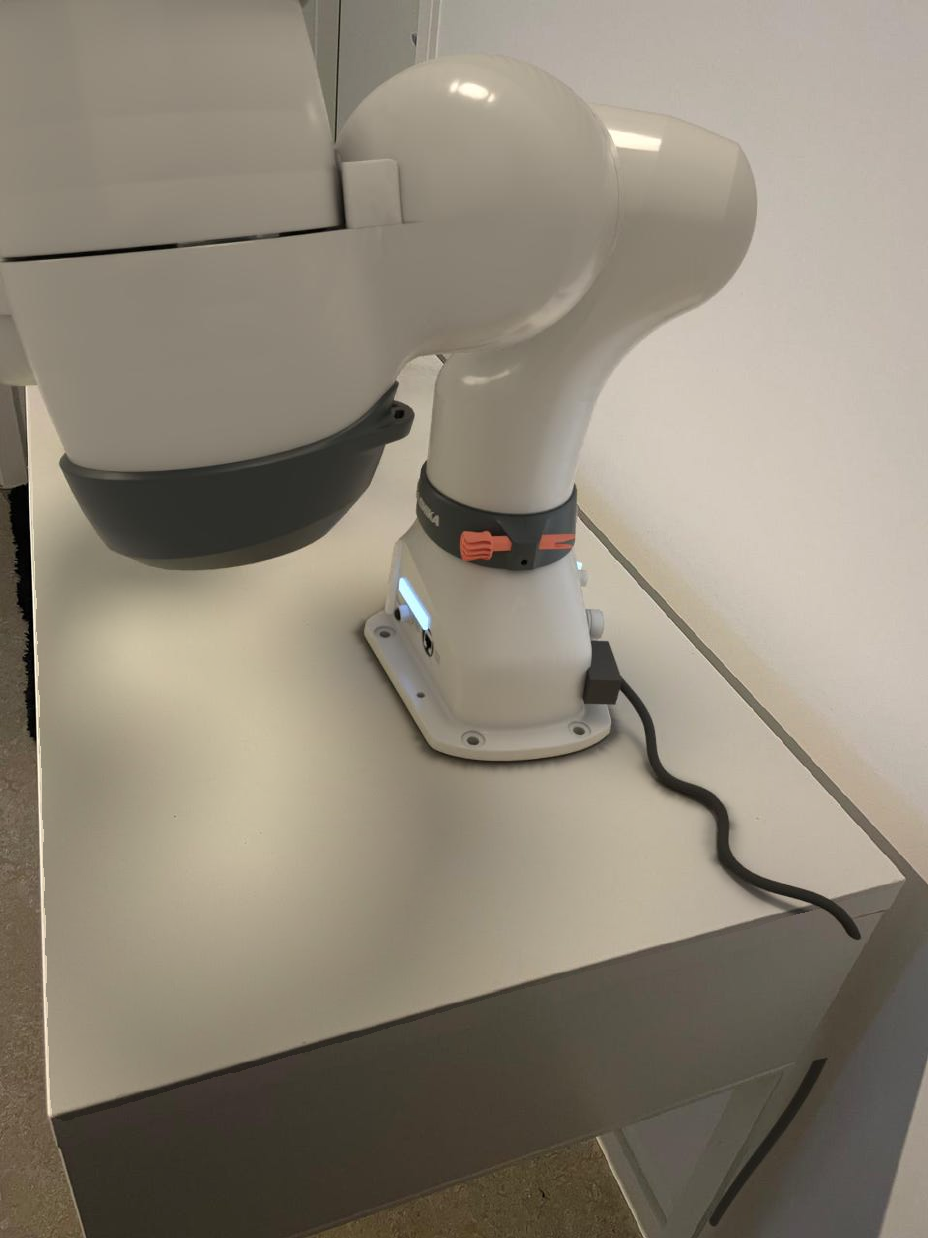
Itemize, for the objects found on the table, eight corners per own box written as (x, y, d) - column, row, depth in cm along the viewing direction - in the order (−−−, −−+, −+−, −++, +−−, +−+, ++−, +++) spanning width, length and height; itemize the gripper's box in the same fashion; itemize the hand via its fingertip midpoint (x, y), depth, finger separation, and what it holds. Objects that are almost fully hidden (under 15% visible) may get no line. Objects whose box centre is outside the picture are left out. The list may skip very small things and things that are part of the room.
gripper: (124, 237, 81) (222, 329, 92) (258, 306, 70) (351, 399, 82) (165, 180, 81) (258, 279, 93) (305, 240, 70) (391, 343, 82)
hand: (303, 336), depth 87 cm, fingers closed on navy book, 3 cm apart
